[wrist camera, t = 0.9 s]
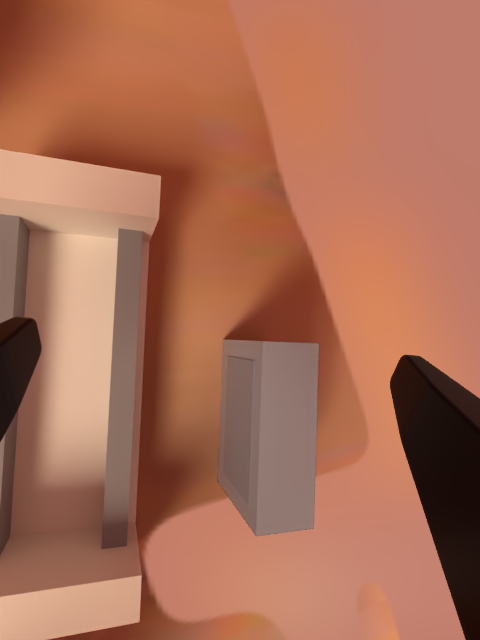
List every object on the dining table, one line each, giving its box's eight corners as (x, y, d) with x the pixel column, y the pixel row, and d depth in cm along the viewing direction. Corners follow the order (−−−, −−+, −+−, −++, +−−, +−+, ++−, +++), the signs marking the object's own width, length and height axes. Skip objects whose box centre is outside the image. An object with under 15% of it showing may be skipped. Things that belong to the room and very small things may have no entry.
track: (132, 549, 23) (139, 622, 17) (-26, 569, 20) (-81, 663, 14) (149, 214, 24) (161, 175, 18) (0, 194, 21) (-42, 142, 15)
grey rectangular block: (261, 477, 25) (314, 528, 19) (216, 481, 24) (255, 536, 18) (266, 341, 26) (319, 343, 19) (222, 339, 25) (261, 341, 18)
